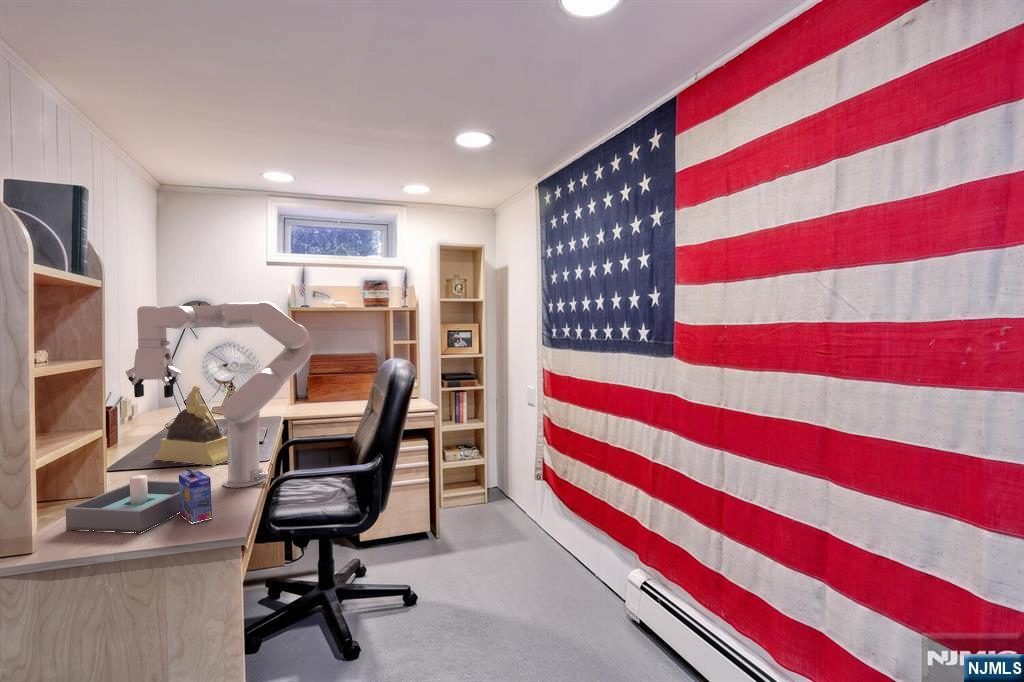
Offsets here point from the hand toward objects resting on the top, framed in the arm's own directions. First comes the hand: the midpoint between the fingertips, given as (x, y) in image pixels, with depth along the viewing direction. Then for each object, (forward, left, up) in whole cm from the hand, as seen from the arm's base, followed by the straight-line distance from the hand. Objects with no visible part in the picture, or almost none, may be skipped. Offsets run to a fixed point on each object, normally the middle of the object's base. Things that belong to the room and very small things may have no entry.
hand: (154, 397), depth 160 cm
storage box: (-11, +19, -31) cm, 38 cm away
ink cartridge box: (-28, +19, -31) cm, 46 cm away
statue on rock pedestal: (+12, -36, -31) cm, 49 cm away
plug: (-11, +19, -30) cm, 37 cm away
